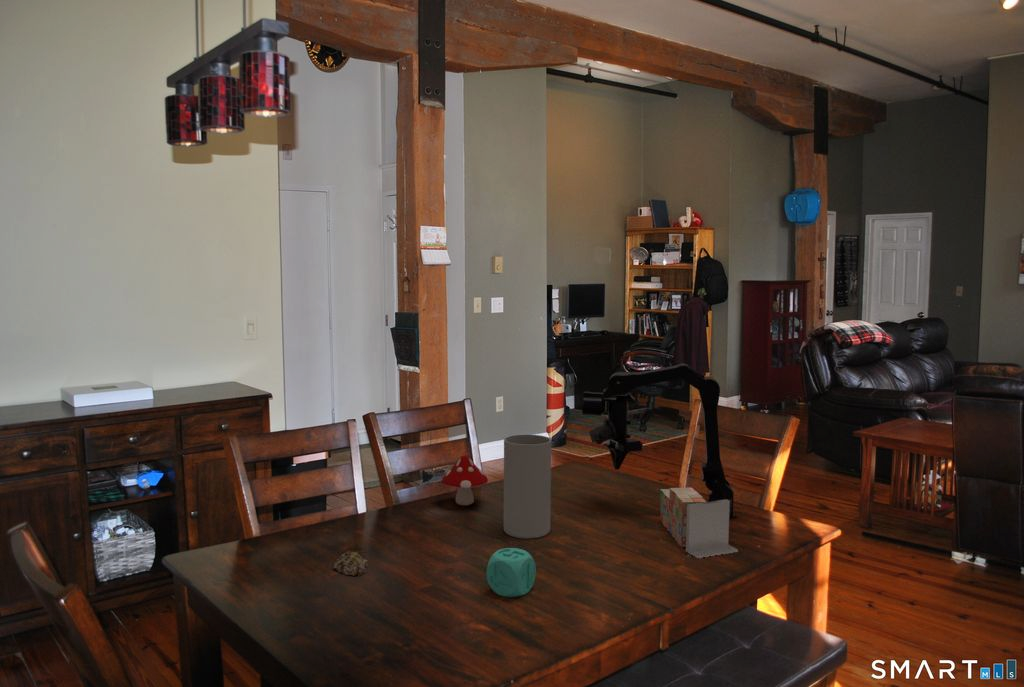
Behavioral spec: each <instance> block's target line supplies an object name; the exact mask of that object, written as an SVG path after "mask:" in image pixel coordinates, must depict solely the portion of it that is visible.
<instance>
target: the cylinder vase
mask: <svg viewBox="0 0 1024 687" xmlns="http://www.w3.org/2000/svg"><path fill="white" fill-rule="evenodd" d="M551 481H552V439H551V437H548V436H544V435H539V434H513V435H508V436H505V437H504V439H503V531H504V532H505V534H506V535H508V536H510V537H513V538H517V539H528V540H529V539H538V538H543V537H545V536H547V535H548V534H549V533H550V531H551V506H552V505H551V503H552V502H551V500H552V498H551V496H552V495H551V494H552V492H551V491H552V490H551V489H552V488H551V487H552V483H551Z"/></svg>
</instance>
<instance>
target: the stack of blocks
mask: <svg viewBox="0 0 1024 687" xmlns="http://www.w3.org/2000/svg"><path fill="white" fill-rule="evenodd" d="M659 499H660V500H659V501H660V503H659V504H660V506H659V510H660V514H659V520H661V521H660V522H661V523H662V525H663V526H664V528H665V527H666V528H667V529H666V528H665V529H666V531H667V532H668V531H669V532H670V533H671V534H672V535H671V534H670V533H669V532H668V533H669V534H670V535H671V536H672V538H673V537H674V538H675V539H674V538H673V539H674V540H675V542H676V541H677V542H678V543H677V542H676V543H677V545H678V546H679V545H680V546H681V547H686V523H687V505H688V504H696V503H703V502H708V500H706V499H705V498H704V497H703V496H702V495H701V494H700V493H699V492H698V491H696V490H695V489H694V488H693V487H670V488H667V489H666V488H664V489H663V488H662V489H661V488H660V489H659ZM680 546H679V547H680ZM681 547H680V548H681Z"/></svg>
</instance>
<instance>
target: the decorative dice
mask: <svg viewBox="0 0 1024 687" xmlns="http://www.w3.org/2000/svg"><path fill="white" fill-rule="evenodd" d="M536 574H537V565H536V562H535V560H534V558H533V557H532V555H531V554H530V553H529V552H528V551H526V550H525V549H521V548H517V547H506V548H501V549H497V550H495V552H493V554H492V555H491V556H490V559H489V560H488V564H487V566H486V580H487V583H488V585H489V587H490V588H491V590H492V591H493V592H494V593H495V594H497V595H499V596H501V597H507V598H517V597H522V596H525V595H527V594H528V593H529V592H530V591H531V589H532V588H533V585H534V583H535V579H536Z"/></svg>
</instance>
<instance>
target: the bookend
mask: <svg viewBox="0 0 1024 687" xmlns="http://www.w3.org/2000/svg"><path fill="white" fill-rule="evenodd" d="M729 507H730V501H729V500H727V499H726V500H718V501H711V502H708V501H707V502H703V503H696V504H688V505H687V523H686V548H685V552H686V553H687V552H688V553H687V554H689V555H691V556H692V555H693V556H692V557H694V556H695V557H694V558H696V559H698V558H699V559H703V557H705V558H710V557H709V556H711V557H716V556H715V555H717V556H722V555H721V554H723V555H728V554H734V552H735V553H738V552H739V550H738V549H737V548H736V547H733V546H732V545H731V544H729V538H730V537H729V534H730V532H729V531H730V530H729V529H730V518H729Z"/></svg>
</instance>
